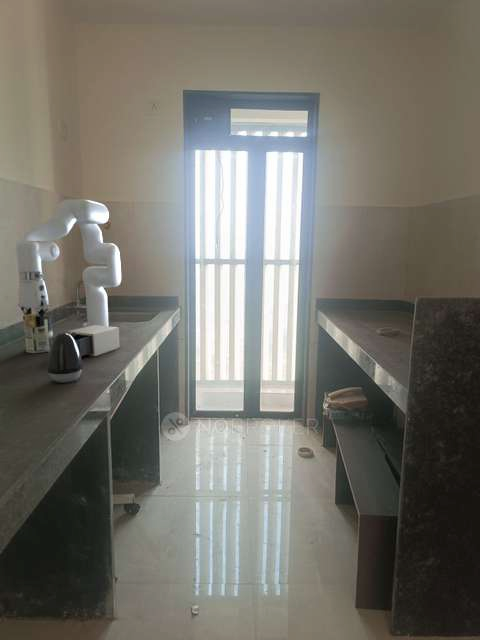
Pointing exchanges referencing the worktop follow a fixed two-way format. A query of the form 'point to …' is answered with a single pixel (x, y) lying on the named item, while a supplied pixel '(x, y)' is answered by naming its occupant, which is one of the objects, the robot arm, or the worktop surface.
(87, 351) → the dark grey storage bin
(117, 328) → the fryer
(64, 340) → the dark grey rounded dome
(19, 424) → the worktop surface
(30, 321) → the cube
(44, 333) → the coffee can
